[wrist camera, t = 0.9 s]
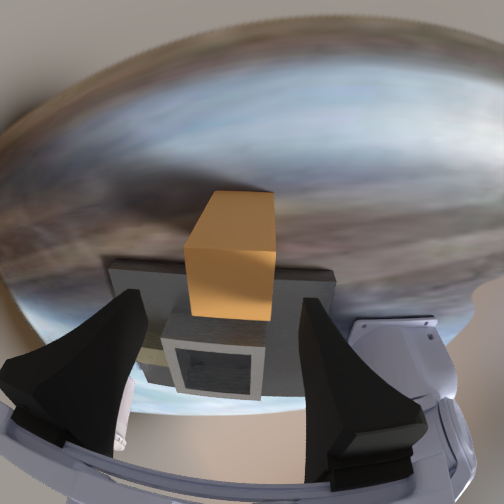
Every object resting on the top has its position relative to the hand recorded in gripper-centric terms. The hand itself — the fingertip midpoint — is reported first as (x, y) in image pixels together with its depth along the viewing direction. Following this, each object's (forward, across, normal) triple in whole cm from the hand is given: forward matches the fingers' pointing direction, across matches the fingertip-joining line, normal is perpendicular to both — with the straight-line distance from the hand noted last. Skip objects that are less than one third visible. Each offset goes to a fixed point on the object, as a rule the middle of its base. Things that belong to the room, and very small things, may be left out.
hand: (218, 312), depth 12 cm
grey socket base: (+9, +2, +12) cm, 15 cm away
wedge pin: (+9, 0, 0) cm, 9 cm away
